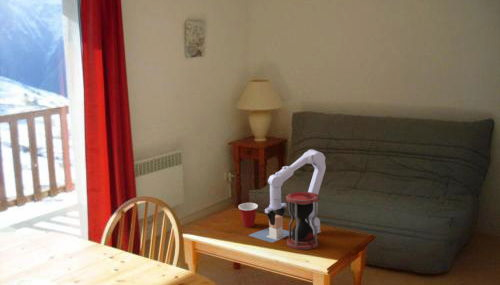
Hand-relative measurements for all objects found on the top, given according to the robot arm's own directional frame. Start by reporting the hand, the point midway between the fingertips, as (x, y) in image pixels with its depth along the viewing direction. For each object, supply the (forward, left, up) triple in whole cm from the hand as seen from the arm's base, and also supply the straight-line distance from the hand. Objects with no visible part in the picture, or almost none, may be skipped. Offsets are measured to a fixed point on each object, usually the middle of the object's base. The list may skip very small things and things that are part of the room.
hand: (275, 223), depth 290 cm
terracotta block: (0, 0, -1) cm, 1 cm away
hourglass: (-17, -1, -8) cm, 19 cm away
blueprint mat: (+4, -1, -7) cm, 8 cm away
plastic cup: (+23, -3, -8) cm, 24 cm away
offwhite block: (0, 0, -7) cm, 7 cm away
